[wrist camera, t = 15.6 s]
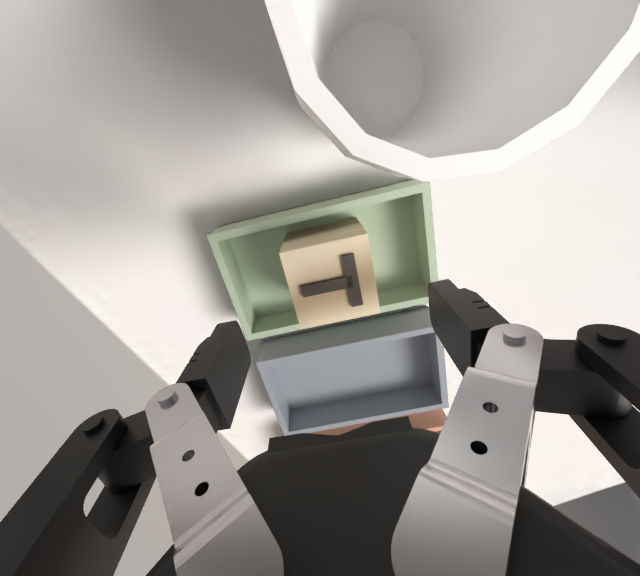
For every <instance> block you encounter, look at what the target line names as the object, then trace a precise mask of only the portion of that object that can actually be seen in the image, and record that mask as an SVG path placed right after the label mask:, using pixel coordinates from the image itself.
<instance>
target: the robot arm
mask: <svg viewBox="0 0 640 576" xmlns="http://www.w3.org/2000/svg"><path fill="white" fill-rule="evenodd" d="M428 298H429V311H430V320H431V324H432V327H433V330H434V332H435V333H436V335H437V336H438V338H439V340H440V341H441V343H442V344H443V346H444V347H445V349H446V351H447V352H448V354H449V355H450V357H451V358H452V360H453V362H454V363H455V365H456V366H457V368H458V369H459V371H460V373H461V374H462V376H463V379H462V382H461V384H460V387H459V389H458V392H457V394H456V396H455V399H454V401H453V404H452V406H451V409H450V411H449V414H448V416H447V419H446V421H445V423H444V426H443V428H442V431H441V433H437V432H434V431H431V430H427V429H422V428H413V427H412V426H411V423H410V420H409V417H408V416H405V417H399V418H392V419H386V420H380V421H374V422H371V423H369V424H366V425H364V426H361V427H359V428H356V429H354V430H351V431H349V432H346V433H344V434H341V435H324V434H311V433H299V434H293V435H287V436H281V437H274V438H270V441H269V447H268V451H266V452H263V453H261V454H260V455H258V456H256V457H254V458H253V459H251V460H250V461H248V462H247V463H246V464H245V465H243V466H242V467H241V468H240V469H239V470H238V471H236V469H235V467H234V466H233V464H232V462H231V460H230V459H229V457H228V455H227V453H226V452H225V450H224V448H223V446H222V444H221V443H220V441H219V439H218V437H217V435H216V433H217V430H223V429H230V427H231V424H232V421H233V418H234V414H235V411H236V408H237V405H238V402H239V398H240V395H241V392H242V389H243V386H244V382H245V379H246V376H247V373H248V370H249V366H250V352H249V349H248V346H247V344H246V341H245V339H244V336H243V333H242V331H241V328H240V326H239V324H238V322H237V321H230V322H225V323H220V324H217V326H216V327H215V329H214V331H213V333H212V334H211V336H210V337H208V338H206V339H205V340H204V341H203V342H202V343H201V344H200V345H199V346H198V347H197V349H196V351H195V352H194V354H193V355H194V356H192V357H191V359H190V361H189V363H188V364H187V366H186V367H185V369H184V371H183V372H182V374H181V376H180V377H179V379H178V381H177V382H176V384H172V385H170V386H168V387H165V388H163V389H162V390H160V391H159V392H157V393H156V394H155V395H154V396H153V397H152V398H151V399H150V400H149V401H148V403H147V404H146V407H145V410H144V411H141V412H140V413H137V414H134V415H131V416H129V417H126V418H124V419H123V417H122V416H121V414H120V413H119V412H118V410H116V409H108V410H104V411H102V412H99V413H97V414H95V415H93V416H91V417H90V418H88V419H87V420H85V421H84V422H83V423H82V424H80V425H79V426H78V427H77V428H76V429H75V430H74V432H73V433H72V434H71V435H70V436H69V438H68V439H67V440H66V441H65V443H64V444H63V445H62V446H61V448H60V449H59V450H58V451H57V453H56V454H55V455H54V457H53V458H52V459H51V460H50V461H49V463H48V464H47V465H46V466H45V468H44V469H43V470H42V471H41V473H40V474H39V475H38V476H37V477H36V479H35V480H34V481H33V483H32V484H31V485H30V486H29V488H28V489H27V490H26V491H25V493H24V494H23V495H22V496H21V497H20V499H19V500H18V501H17V502H16V504H15V505H14V506H13V507H12V509H11V510H10V511H9V512H8V514H7V515H6V516H5V517H4V519H3V520H2V521H1V522H0V576H113V575H114V572H115V570H116V568H117V565H118V563H119V561H120V559H121V556H122V554H123V552H124V550H125V547H126V545H127V543H128V540H129V538H130V536H131V533H132V531H133V529H134V527H135V524H136V522H137V520H138V517H139V515H140V513H141V511H142V508H143V506H144V503H145V501H146V499H147V497H148V495H149V492H150V490H151V488H152V485H153V483H154V481H155V479H156V476H157V479H158V483H159V486H160V491H161V494H162V498H163V503H164V506H165V510H166V514H167V518H168V522H169V526H170V530H171V534H172V538H173V542H174V544H173V545H172V546H171V547H170V548H169V550H168V551H167V552H166V553H165V554H164V555H163V556H162V558H161V559H160V560H159V561H158V562H157V563H156V565H155V566H154V567H153V568H152V569H151V570H150V571H149V573H148V574H147V575H146V576H640V564H639V563H637V562H636V561H634V560H633V559H631V558H630V557H628V556H627V555H625V554H624V553H622V552H621V551H619V550H617V549H616V548H615V547H613V546H612V545H610V544H609V543H607V542H606V541H604V540H603V539H601V538H600V537H598V536H597V535H595V534H594V533H592V532H591V531H589V530H588V529H586V528H585V527H583V526H582V525H580V524H579V523H577V522H576V521H574V520H573V519H571V518H570V517H568V516H567V515H565V514H564V513H562V512H561V511H559V510H558V509H556V508H555V507H553V506H552V505H550V504H549V503H547V502H546V501H545V500H543V499H542V498H540V497H539V496H537V495H536V494H534V493H533V492H531V491H530V490H528V489H527V488H525V483H526V476H527V468H528V460H529V453H530V446H531V440H532V433H533V426H534V419H535V412H536V411H539V412H549V413H560V414H569V416H570V417H571V418H572V419H573V420H574V422H575V423H576V424H577V425H578V426H579V427H580V429H581V430H582V431H583V432H584V433H585V434H586V436H587V437H588V438H589V439H590V440H591V442H592V443H593V444H594V445H595V446H596V447H597V449H598V450H599V451H600V452H601V453H602V454H603V456H604V457H605V458H606V459H607V460H608V462H609V463H610V464H611V465H612V466H613V467H614V469H615V470H616V471H617V472H618V473H619V474H620V476H621V477H622V478H623V479H624V480H625V482H626V483H627V484H628V485H629V486H630V487H631V489H632V490H633V491H634V492H635V493H636V494H637V496H638V497H639V498H640V412H639V411H640V334H638V333H636V332H634V331H632V330H629V329H626V328H623V327H620V326H615V325H608V324H592V325H587V326H584V327H582V328H580V329H579V330H578V332H577V337H576V340H551V339H543V337H542V335H541V334H540V333H539V332H537V331H536V330H534V329H532V328H530V327H527V326H524V325H519V324H510V323H509V322H508V321H507V320H506V319H504V318H503V317H502V316H501V315H500V314H499V313H498V312H497V311H496V310H495V309H494V308H492V307H490V305H489V304H488V303H487V302H486V301H484V299H483V298H482V297H480V296H479V295H478V294H477V293H475V292H473V291H470V290H468V289H466V288H463V289H458V288H457V287H456V286H455V285H454V284H453V283H452V282H451V281H450V280H449V279H446V280H441V281H436V282H430V283H429V284H428ZM632 404H633V405H634V406H635V407H636V408H637V409H638V410H639V411H637V410H636V409H635V408H634V407H633V406H632ZM97 477H98V478H99V479H100V480H101V481H102V482H103V484H104V485H105V487H104V488H103V490H102V492H101V493H100V495H99V497H98V498H97V500H96V502H95V504H94V506H93V507H92V509H91V511H90V512H89V514H88V516H87V517H86V516H85V514H84V511H83V504H84V500H85V497H86V495H87V493H88V492H89V490H90V488H91V487H92V485H93V484H94V482H95V480H96V479H97Z"/></svg>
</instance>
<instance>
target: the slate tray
mask: <svg viewBox="0 0 640 576" xmlns="http://www.w3.org/2000/svg"><path fill="white" fill-rule="evenodd" d="M256 365H257V368H258V370H259V373H260V375H261V378H262V381H263V383H264V386H265V388H266V391H267V393H268V396H269V399H270V401H271V404H272V406H273V409H274V412H275V414H276V417H277V419H278V422H279V424H280V427H281V430H282V432H283V435H284V436H287V435H293V434H299V433H311V432H316V431H322V430H327V429H333V428H338V427H344V426H349V425H354V424H360V423H365V422H371V421H376V420H382V419H387V418H393V417H398V416H403V415H409V414H414V413H420V412H425V411H431V410H436V409H442V408H447V407H449V405H448V393H447V381H446V369H445V357H444V346H443V344H442V343H441V341H440V340H439V338H438V336H437V335H436V333H435V332H434V330H433V327H432V324H431V320H430V311H429V307H428V306H426V307H421V308H416V309H412V310H407V311H402V312H397V313H393V314H388V315H383V316H378V317H374V318H369V319H364V320H359V321H354V322H350V323H345V324H340V325H335V326H331V327H326V328H321V329H316V330H312V331H307V332H302V333H297V334H293V335H288V336H283V337H278V338H273V339H269V340H264V341H262V343H261V346H260V350H259V353H258V357H257V360H256Z"/></svg>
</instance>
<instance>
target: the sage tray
mask: <svg viewBox="0 0 640 576" xmlns="http://www.w3.org/2000/svg"><path fill="white" fill-rule="evenodd" d="M355 217H356V218H357V219H358V220H359V222H360V223H361V225H362V226H363V227H364V229H365V230H366V232H367V233H368V238H369V244H370V250H371V256H372V262H373V269H374V275H375V281H376V287H377V293H378V300H379V306H380V312H381V313H383V312H388V311H392V310H397V309H402V308H407V307H411V306H416V305H421V304H426V303H429V298H428V284H429V283H430V282H436V281H438V273H437V261H436V249H435V237H434V225H433V213H432V201H431V190H430V182H428V181H427V182H422V181H418V180H413V179H412V180H407V181H403V182H399V183H395V184H391V185H387V186H383V187H379V188H374V189H370V190H366V191H362V192H358V193H354V194H350V195H346V196H341V197H337V198H333V199H329V200H325V201H321V202H317V203H313V204H308V205H304V206H300V207H296V208H292V209H288V210H284V211H280V212H275V213H271V214H267V215H263V216H259V217H255V218H251V219H247V220H242V221H238V222H234V223H230V224H226V225H222V226H219V227H218V228H216V229H215V230H214V231H212V232H211V233H209V234H208V235H207V239H208V241H209V244H210V247H211V249H212V252H213V254H214V257H215V259H216V262H217V265H218V267H219V270H220V272H221V275H222V277H223V280H224V283H225V285H226V288H227V290H228V293H229V296H230V298H231V301H232V303H233V306H234V308H235V311H236V314H237V316H238V319H239V321H240V324H241V326H242V329H243V332H244V334H245V337H246V339H247V341H250V340H255V339H259V338H264V337H269V336H274V335H278V334H283V333H288V332H293V331H297V330H302V329H301V328H300V325H299V321H298V318H297V314H296V311H295V307H294V304H293V301H292V297H291V294H290V290H289V287H288V283H287V280H286V276H285V273H284V269H283V266H282V262H281V259H280V255H279V252H280V249H281V247H282V244H283V241H284V239H285V236H286V233H289V232H293V231H298V230H302V229H306V228H311V227H315V226H320V225H324V224H328V223H333V222H337V221H342V220H346V219H351V218H355ZM349 320H350V319H349ZM344 321H345V320H344ZM339 322H340V321H339ZM334 323H335V322H334ZM329 324H331V323H329ZM324 325H326V324H324ZM319 326H321V325H319ZM314 327H316V326H314ZM309 328H312V327H309ZM304 329H307V328H304Z"/></svg>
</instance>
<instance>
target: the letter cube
mask: <svg viewBox="0 0 640 576" xmlns="http://www.w3.org/2000/svg"><path fill="white" fill-rule="evenodd" d="M279 255H280V259H281V262H282V266H283V269H284V273H285V276H286V280H287V283H288V287H289V290H290V294H291V297H292V301H293V304H294V307H295V311H296V314H297V318H298V321H299V325H300V328H301V329H304V328H309V327H314V326H319V325H324V324H329V323H334V322H339V321H344V320H349V319H354V318H359V317H364V316H369V315H374V314H379V313H381V312H380V306H379V300H378V293H377V287H376V281H375V275H374V269H373V262H372V256H371V250H370V244H369V238H368V233H367V232H366V230H365V229H364V227H363V226H362V225H361V223H360V222H359V220H358V219H357V218H356V217H355V218H351V219H346V220H342V221H337V222H333V223H328V224H324V225H320V226H315V227H311V228H306V229H302V230H298V231H293V232H289V233H286V236H285V239H284V241H283V244H282V247H281V249H280V252H279Z"/></svg>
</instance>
